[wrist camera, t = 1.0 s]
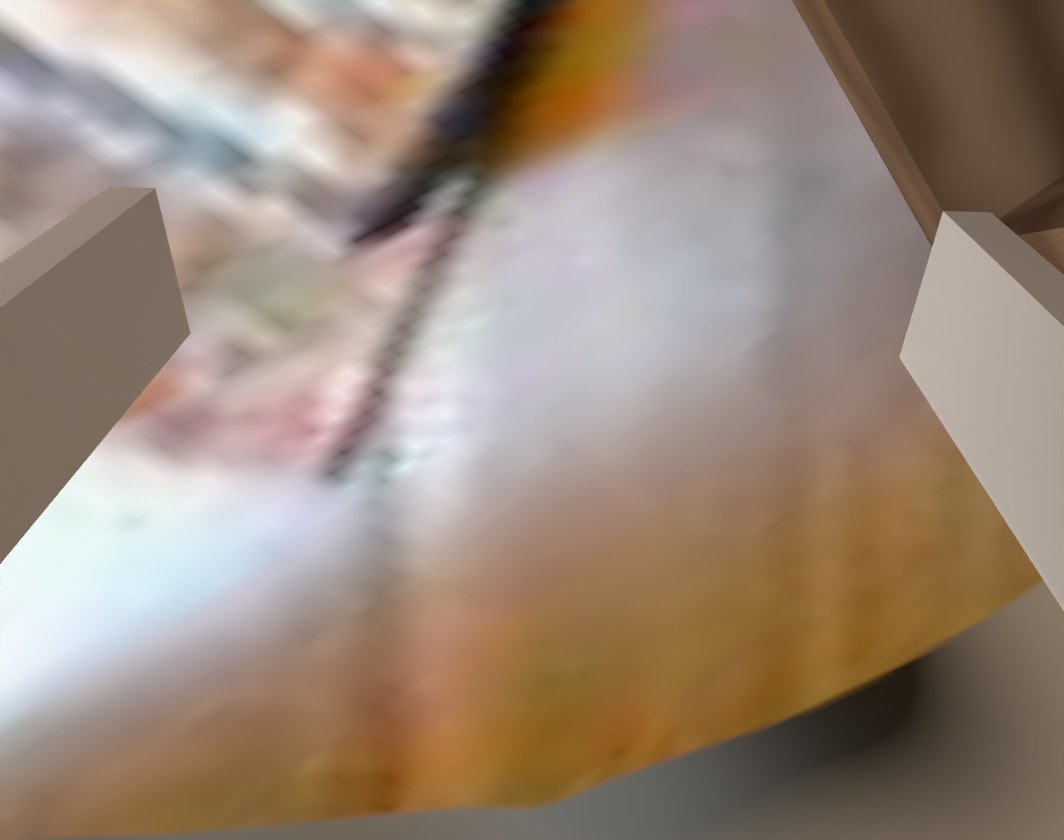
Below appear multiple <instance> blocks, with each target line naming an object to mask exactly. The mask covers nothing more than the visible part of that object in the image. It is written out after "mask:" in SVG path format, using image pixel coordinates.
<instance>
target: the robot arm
mask: <svg viewBox="0 0 1064 840" xmlns="http://www.w3.org/2000/svg"><path fill="white" fill-rule="evenodd" d="M189 334H190V330H189V326H188V321H187V317H186V313H185V309H184V305H183V301H182V297H181V293H180V288H179V284H178V280H177V276H176V272H175V268H174V264H173V260H172V256H171V251H170V247H169V243H168V239H167V235H166V231H165V227H164V223H163V218H162V214H161V210H160V206H159V202H158V198H157V194H156V190H155V188H126V187H110V188H109V189H107V190H106V191H104V192H103V193H101V194H100V195H98V196H97V197H96V198H94V199H93V200H91V201H90V202H88V203H87V204H85V205H84V206H83V207H81V208H80V209H78V210H77V211H75V212H74V213H73V214H71V215H70V216H68V217H67V218H65V219H64V220H62V221H61V222H60V223H58V224H57V225H55V226H54V227H52V228H51V229H49V230H48V231H47V232H45V233H44V234H42V235H41V236H39V237H38V238H36V239H35V240H34V241H32V242H31V243H29V244H28V245H26V246H25V247H24V248H22V249H21V250H19V251H18V252H16V253H15V254H13V255H12V256H11V257H9V258H8V259H6V260H5V261H3V262H2V263H0V564H1V562H2V561H3V560H4V559H5V558H6V556H7V555H8V554H9V553H10V552H11V550H12V549H13V548H14V547H15V545H16V544H17V543H18V542H19V541H20V539H21V538H22V537H23V536H24V535H25V533H26V532H27V531H28V530H29V528H30V527H31V526H32V525H33V524H34V522H35V521H36V520H37V519H38V518H39V516H40V515H41V514H42V513H43V511H44V510H45V509H46V508H47V507H48V505H49V504H50V503H51V502H52V501H53V499H54V498H55V497H56V496H57V495H58V493H59V492H60V491H61V490H62V488H63V487H64V486H65V485H66V484H67V482H68V481H69V480H70V479H71V478H72V476H73V475H74V474H75V473H76V471H77V470H78V469H79V468H80V467H81V465H82V464H83V463H84V462H85V461H86V459H87V458H88V457H89V456H90V454H91V453H92V452H93V451H94V450H95V448H96V447H97V446H98V445H99V444H100V442H101V441H102V440H103V439H104V437H105V436H106V435H107V434H108V433H109V431H110V430H111V429H112V428H113V427H114V425H115V424H116V423H117V422H118V420H119V419H120V418H121V417H122V416H123V414H124V413H125V412H126V411H127V410H128V408H129V407H130V406H131V405H132V404H133V402H134V401H135V400H136V399H137V397H138V396H139V395H140V394H141V393H142V391H143V390H144V389H145V388H146V387H147V385H148V384H149V383H150V382H151V380H152V379H153V378H154V377H155V376H156V374H157V373H158V372H159V371H160V370H161V368H162V367H163V366H164V365H165V363H166V362H167V361H168V360H169V359H170V357H171V356H172V355H173V354H174V353H175V351H176V350H177V349H178V348H179V346H180V345H181V344H182V343H183V342H184V340H185V339H186V338H187V337H188V336H189ZM899 358H900V359H901V361H902V362H903V364H904V365H905V367H906V368H907V370H908V372H909V373H910V375H911V376H912V378H913V379H914V381H915V382H916V384H917V385H918V387H919V389H920V390H921V392H922V393H923V395H924V396H925V398H926V399H927V401H928V402H929V404H930V405H931V407H932V409H933V410H934V412H935V413H936V415H937V416H938V418H939V419H940V421H941V422H942V424H943V426H944V427H945V429H946V430H947V432H948V433H949V435H950V436H951V438H952V439H953V441H954V443H955V444H956V446H957V447H958V449H959V450H960V452H961V453H962V455H963V456H964V458H965V459H966V461H967V463H968V464H969V466H970V467H971V469H972V470H973V472H974V473H975V475H976V476H977V478H978V480H979V481H980V483H981V484H982V486H983V487H984V489H985V490H986V492H987V493H988V495H989V497H990V498H991V500H992V501H993V503H994V504H995V506H996V507H997V509H998V510H999V512H1000V513H1001V515H1002V517H1003V518H1004V520H1005V521H1006V523H1007V524H1008V526H1009V527H1010V529H1011V530H1012V532H1013V534H1014V535H1015V537H1016V538H1017V540H1018V541H1019V543H1020V544H1021V546H1022V547H1023V549H1024V551H1025V552H1026V554H1027V555H1028V557H1029V558H1030V560H1031V561H1032V563H1033V564H1034V566H1035V567H1036V569H1037V571H1038V572H1039V574H1040V575H1041V577H1042V578H1043V580H1044V581H1045V583H1046V584H1047V586H1048V588H1049V589H1050V591H1051V592H1052V594H1053V595H1054V597H1055V598H1056V600H1057V601H1058V603H1059V604H1060V606H1061V608H1062V609H1063V611H1064V274H1063V273H1061V272H1060V271H1059V270H1058V269H1057V268H1055V267H1054V266H1053V265H1052V264H1051V263H1050V262H1048V261H1047V260H1046V259H1045V258H1044V257H1042V256H1041V255H1040V254H1039V253H1038V252H1037V251H1035V250H1034V249H1033V248H1032V247H1031V246H1030V245H1028V244H1027V243H1026V242H1025V241H1024V240H1022V239H1021V238H1020V237H1019V236H1018V235H1017V234H1015V233H1014V232H1013V231H1012V230H1011V229H1010V228H1008V227H1007V226H1006V225H1005V224H1004V223H1002V222H1001V221H1000V220H999V219H998V218H997V217H995V216H994V215H993V214H992V213H991V212H963V211H943V213H942V216H941V219H940V223H939V226H938V229H937V233H936V236H935V240H934V243H933V246H932V250H931V253H930V256H929V260H928V263H927V266H926V270H925V273H924V276H923V280H922V283H921V287H920V290H919V293H918V297H917V300H916V303H915V307H914V310H913V313H912V317H911V320H910V323H909V327H908V330H907V334H906V337H905V340H904V344H903V347H902V350H901V354H900V357H899Z"/></svg>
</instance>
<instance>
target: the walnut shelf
mask: <svg viewBox="0 0 1064 840" xmlns="http://www.w3.org/2000/svg"><path fill="white" fill-rule="evenodd" d="M792 1H793V2H794V4H795V6H796V8H797V9H798V11H799V13H800V15H801V16H802V18H803V20H804V22H805V23H806V25H807V27H808V29H809V30H810V32H811V34H812V36H813V38H814V39H815V41H816V43H817V45H818V46H819V48H820V50H821V52H822V53H823V55H824V57H825V59H826V60H827V62H828V64H829V66H830V68H831V69H832V71H833V73H834V75H835V76H836V78H837V80H838V82H839V83H840V85H841V87H842V89H843V90H844V92H845V94H846V96H847V97H848V99H849V101H850V103H851V105H852V106H853V108H854V110H855V112H856V113H857V115H858V117H859V119H860V120H861V122H862V124H863V126H864V127H865V129H866V131H867V133H868V134H869V136H870V138H871V140H872V142H873V143H874V145H875V147H876V149H877V150H878V152H879V154H880V156H881V157H882V159H883V161H884V163H885V164H886V166H887V168H888V170H889V172H890V173H891V175H892V177H893V179H894V180H895V182H896V184H897V186H898V187H899V189H900V191H901V193H902V194H903V196H904V198H905V200H906V201H907V203H908V205H909V207H910V209H911V210H912V212H913V214H914V216H915V217H916V219H917V221H918V223H919V224H920V226H921V228H922V230H923V231H924V233H925V235H926V237H927V239H928V240H929V242H930V244H931V246H933V243H934V240H935V236H936V233H937V229H938V226H939V223H940V219H941V216H942V213H943V211H963V212H991V213H992V214H993V215H994V216H995V217H997V218H998V219H999V220H1000V221H1001V222H1002V223H1004V224H1005V225H1006V226H1007V227H1008V228H1010V229H1011V230H1012V231H1013V232H1014V233H1015V234H1017V235H1018V236H1019V237H1020V238H1021V239H1022V240H1024V241H1025V242H1026V243H1027V244H1028V245H1030V246H1031V247H1032V248H1033V249H1034V250H1035V251H1037V252H1038V253H1039V254H1040V255H1041V256H1042V257H1044V258H1045V259H1046V260H1047V261H1048V262H1050V263H1051V264H1052V265H1053V266H1054V267H1055V268H1057V269H1058V270H1059V271H1060V272H1061V273H1063V274H1064V0H792Z"/></svg>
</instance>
